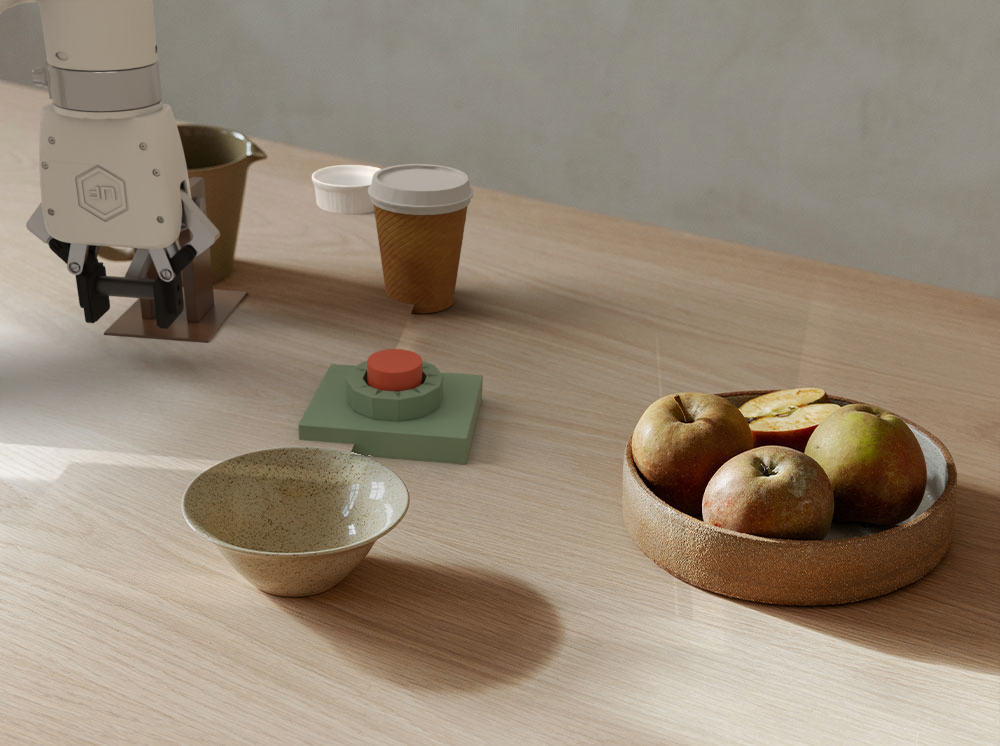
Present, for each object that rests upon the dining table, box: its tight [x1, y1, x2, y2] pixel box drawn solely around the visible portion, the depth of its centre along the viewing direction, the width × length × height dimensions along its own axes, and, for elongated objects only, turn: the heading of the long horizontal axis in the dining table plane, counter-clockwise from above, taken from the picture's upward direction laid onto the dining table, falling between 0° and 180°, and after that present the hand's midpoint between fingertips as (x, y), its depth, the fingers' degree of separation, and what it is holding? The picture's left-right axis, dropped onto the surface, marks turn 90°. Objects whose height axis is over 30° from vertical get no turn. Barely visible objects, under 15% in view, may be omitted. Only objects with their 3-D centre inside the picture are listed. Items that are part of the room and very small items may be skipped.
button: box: [366, 348, 423, 392], centre depth 81 cm, size 4×4×2 cm
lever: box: [95, 248, 156, 299], centre depth 90 cm, size 12×5×2 cm, turn 175°
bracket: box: [103, 176, 248, 344], centre depth 95 cm, size 11×9×13 cm
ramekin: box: [311, 164, 382, 215], centre depth 126 cm, size 9×9×4 cm
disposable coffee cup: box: [368, 163, 474, 314], centre depth 102 cm, size 10×10×12 cm
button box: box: [297, 360, 484, 465], centre depth 82 cm, size 12×10×4 cm
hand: (133, 317), depth 87 cm, fingers closed on lever, 5 cm apart
